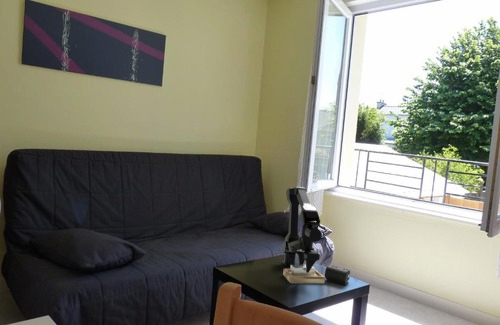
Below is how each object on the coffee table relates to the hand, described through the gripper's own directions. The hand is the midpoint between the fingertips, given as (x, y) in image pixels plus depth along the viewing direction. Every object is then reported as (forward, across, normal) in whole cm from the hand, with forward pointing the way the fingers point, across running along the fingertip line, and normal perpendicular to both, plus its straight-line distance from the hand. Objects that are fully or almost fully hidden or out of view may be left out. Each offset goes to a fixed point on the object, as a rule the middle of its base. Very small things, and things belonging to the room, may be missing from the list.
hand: (304, 269), depth 180 cm
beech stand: (+4, 0, 0) cm, 4 cm away
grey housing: (+2, 0, -1) cm, 3 cm away
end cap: (+5, +4, +15) cm, 16 cm away
